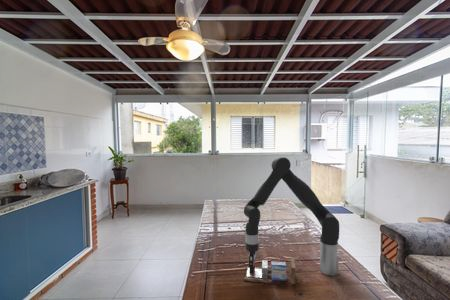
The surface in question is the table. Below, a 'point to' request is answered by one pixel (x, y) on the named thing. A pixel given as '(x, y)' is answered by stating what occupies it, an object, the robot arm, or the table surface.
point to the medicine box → (278, 271)
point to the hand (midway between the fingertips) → (252, 269)
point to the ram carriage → (259, 271)
